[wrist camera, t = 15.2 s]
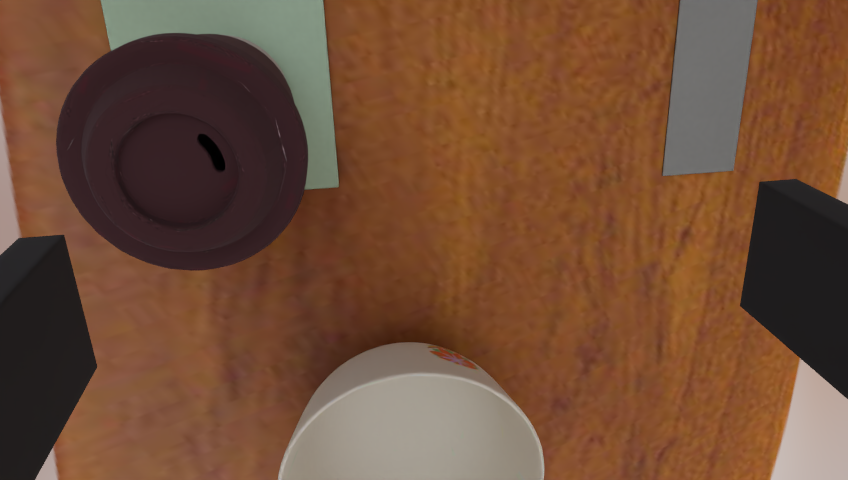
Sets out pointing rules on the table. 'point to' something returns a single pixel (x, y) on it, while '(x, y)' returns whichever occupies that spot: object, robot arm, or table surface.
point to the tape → (708, 85)
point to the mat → (269, 29)
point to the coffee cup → (184, 149)
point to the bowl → (412, 422)
